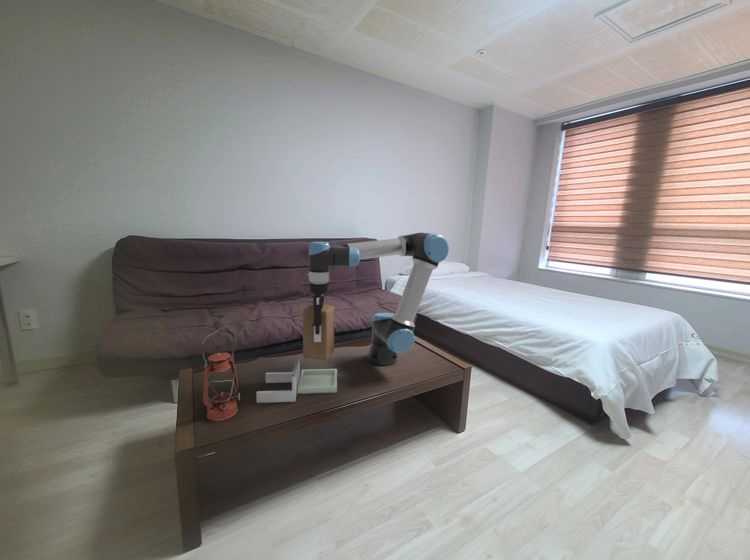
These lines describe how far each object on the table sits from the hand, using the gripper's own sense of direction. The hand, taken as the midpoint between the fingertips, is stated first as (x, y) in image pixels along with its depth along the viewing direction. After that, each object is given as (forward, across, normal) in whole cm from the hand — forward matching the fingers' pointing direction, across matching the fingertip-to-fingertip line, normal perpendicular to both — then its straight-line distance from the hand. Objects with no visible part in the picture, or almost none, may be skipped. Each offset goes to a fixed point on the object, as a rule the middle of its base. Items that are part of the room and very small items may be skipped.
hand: (318, 335), depth 120 cm
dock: (+21, +5, -15) cm, 26 cm away
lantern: (+21, +17, -31) cm, 41 cm away
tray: (+21, 0, 0) cm, 21 cm away
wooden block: (+8, 0, 0) cm, 8 cm away
